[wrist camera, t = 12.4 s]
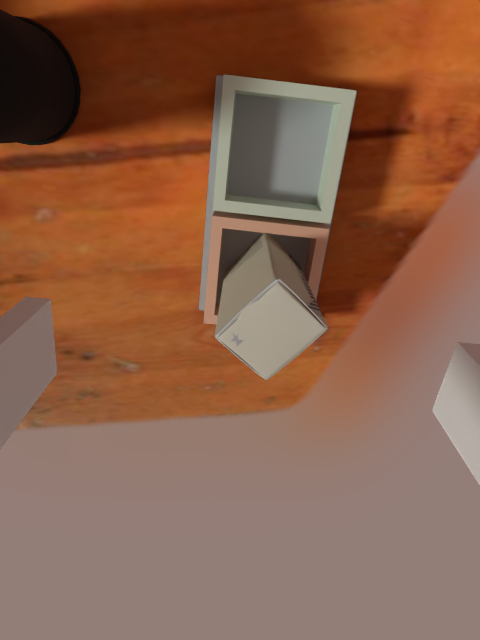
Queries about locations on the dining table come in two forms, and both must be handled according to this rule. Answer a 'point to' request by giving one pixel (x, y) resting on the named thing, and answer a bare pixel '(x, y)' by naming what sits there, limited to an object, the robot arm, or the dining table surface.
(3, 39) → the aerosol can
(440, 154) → the dining table surface
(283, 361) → the box
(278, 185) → the socket board
